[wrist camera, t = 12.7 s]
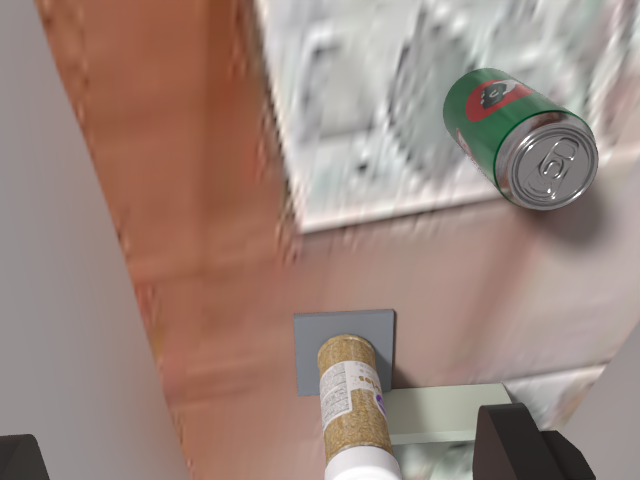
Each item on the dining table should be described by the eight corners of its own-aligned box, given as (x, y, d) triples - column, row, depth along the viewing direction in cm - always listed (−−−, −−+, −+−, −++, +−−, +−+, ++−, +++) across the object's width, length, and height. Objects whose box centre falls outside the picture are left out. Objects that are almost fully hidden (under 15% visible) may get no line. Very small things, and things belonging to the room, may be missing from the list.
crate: (502, 383, 49) (523, 427, 45) (487, 487, 55) (505, 535, 50) (356, 391, 49) (363, 436, 45) (356, 495, 54) (362, 545, 50)
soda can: (426, 125, 39) (480, 194, 29) (466, 52, 38) (539, 97, 27) (491, 155, 41) (565, 232, 30) (533, 86, 39) (629, 143, 28)
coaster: (392, 309, 46) (393, 312, 45) (390, 386, 49) (391, 390, 49) (293, 314, 45) (293, 317, 45) (297, 392, 49) (297, 396, 48)
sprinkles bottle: (386, 357, 47) (420, 500, 35) (340, 388, 48) (359, 537, 36) (349, 320, 45) (372, 457, 33) (303, 353, 46) (310, 498, 34)
